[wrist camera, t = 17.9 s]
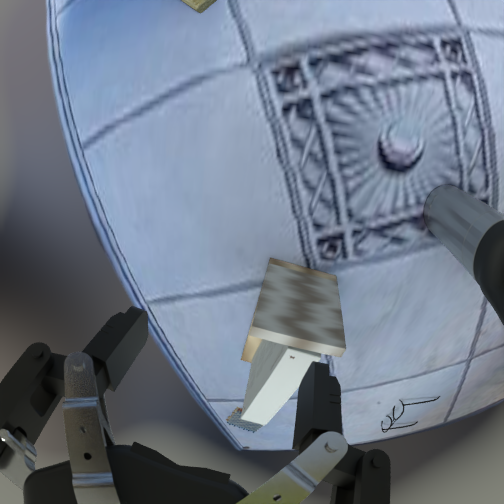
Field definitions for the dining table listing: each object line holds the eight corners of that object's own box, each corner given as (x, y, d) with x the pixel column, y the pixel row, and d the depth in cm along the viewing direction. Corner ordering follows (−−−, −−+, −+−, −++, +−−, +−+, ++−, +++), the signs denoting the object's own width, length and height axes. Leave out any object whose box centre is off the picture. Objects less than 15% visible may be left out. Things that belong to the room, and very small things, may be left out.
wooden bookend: (336, 275, 47) (346, 348, 31) (294, 366, 59) (286, 434, 43) (270, 257, 48) (251, 325, 32) (242, 353, 60) (222, 419, 44)
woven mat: (270, 416, 71) (269, 421, 69) (256, 428, 76) (255, 433, 74) (237, 404, 71) (236, 410, 69) (225, 418, 76) (224, 423, 74)
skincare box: (275, 365, 57) (265, 426, 43) (252, 357, 57) (236, 418, 43) (320, 292, 47) (322, 359, 33) (291, 281, 47) (283, 347, 33)
